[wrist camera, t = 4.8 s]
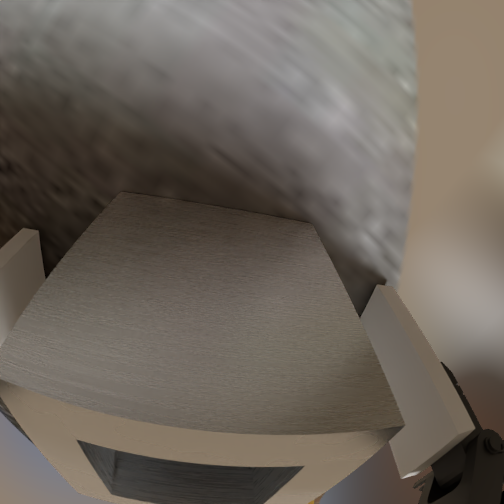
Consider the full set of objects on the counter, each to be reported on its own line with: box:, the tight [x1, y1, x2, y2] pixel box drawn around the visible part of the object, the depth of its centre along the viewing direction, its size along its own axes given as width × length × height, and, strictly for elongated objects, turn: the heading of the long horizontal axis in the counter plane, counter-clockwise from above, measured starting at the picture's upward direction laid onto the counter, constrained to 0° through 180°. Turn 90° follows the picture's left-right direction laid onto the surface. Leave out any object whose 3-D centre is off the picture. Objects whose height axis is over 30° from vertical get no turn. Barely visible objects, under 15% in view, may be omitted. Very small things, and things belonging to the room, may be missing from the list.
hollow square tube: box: [0, 192, 405, 504], centre depth 8 cm, size 6×6×7 cm
